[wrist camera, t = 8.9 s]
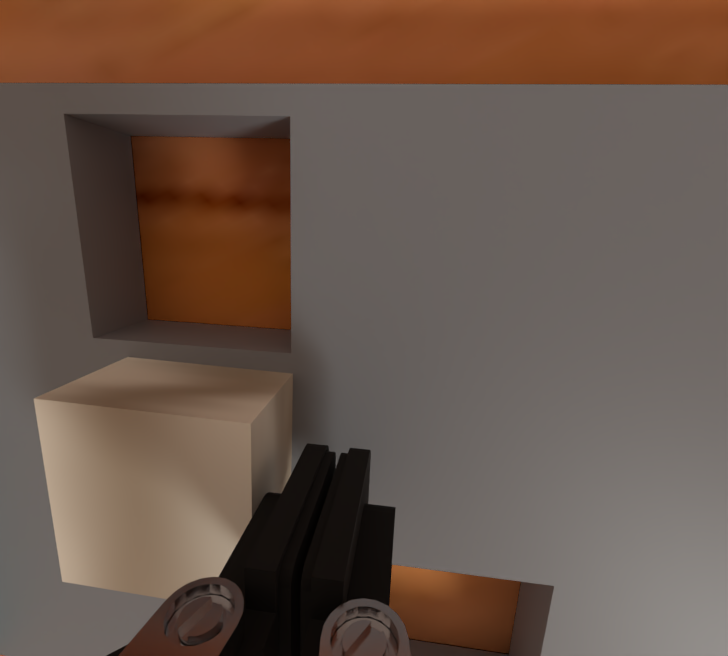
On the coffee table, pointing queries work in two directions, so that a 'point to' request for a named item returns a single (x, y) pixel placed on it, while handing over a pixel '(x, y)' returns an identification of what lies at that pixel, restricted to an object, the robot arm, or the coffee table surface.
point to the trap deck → (416, 335)
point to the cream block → (160, 468)
